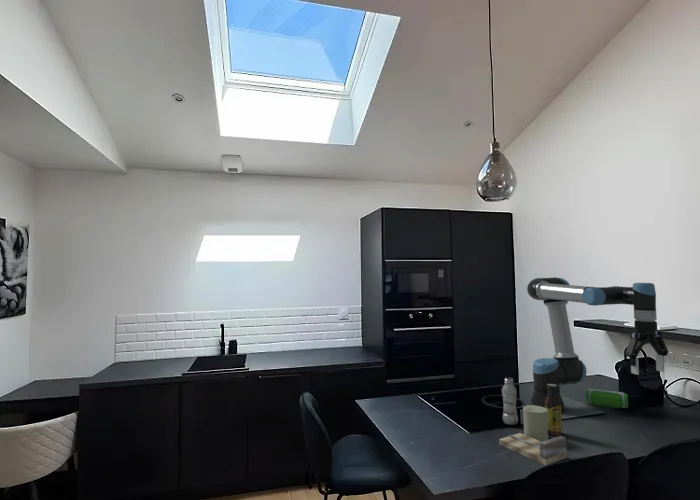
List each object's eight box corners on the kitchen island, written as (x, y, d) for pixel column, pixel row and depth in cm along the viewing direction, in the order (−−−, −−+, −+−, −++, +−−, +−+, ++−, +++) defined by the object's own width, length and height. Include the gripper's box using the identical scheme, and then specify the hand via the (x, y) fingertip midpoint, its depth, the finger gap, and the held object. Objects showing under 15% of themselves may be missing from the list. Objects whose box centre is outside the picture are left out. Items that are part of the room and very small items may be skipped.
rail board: (499, 444, 157) (498, 426, 158) (519, 437, 163) (519, 420, 164) (545, 465, 140) (544, 444, 140) (566, 457, 146) (565, 437, 146)
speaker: (627, 406, 199) (626, 391, 199) (628, 411, 193) (627, 395, 193) (586, 401, 208) (585, 386, 208) (586, 405, 202) (585, 389, 202)
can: (519, 433, 168) (518, 404, 168) (540, 432, 168) (539, 403, 169) (531, 442, 158) (530, 411, 159) (553, 441, 159) (552, 410, 160)
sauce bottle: (555, 437, 163) (553, 387, 164) (541, 432, 169) (539, 384, 170) (565, 434, 166) (563, 385, 167) (552, 429, 172) (550, 382, 173)
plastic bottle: (517, 422, 180) (516, 377, 181) (518, 427, 174) (517, 381, 175) (502, 420, 182) (500, 376, 183) (503, 426, 176) (501, 379, 177)
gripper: (630, 323, 158) (633, 377, 157) (677, 320, 164) (680, 372, 164) (613, 320, 165) (615, 372, 164) (659, 317, 172) (661, 367, 171)
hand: (647, 372), depth 164 cm, fingers open, 13 cm apart
